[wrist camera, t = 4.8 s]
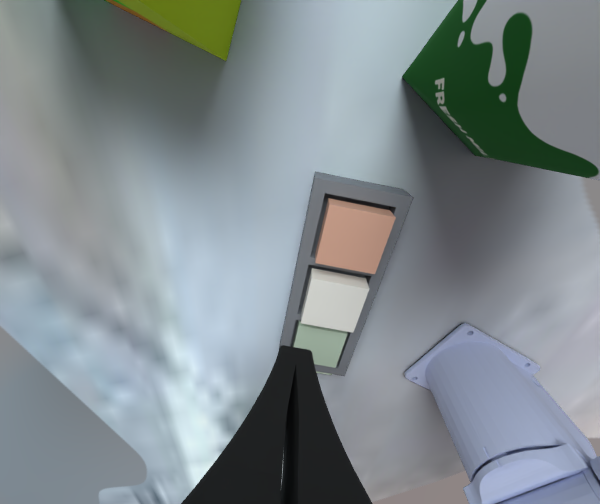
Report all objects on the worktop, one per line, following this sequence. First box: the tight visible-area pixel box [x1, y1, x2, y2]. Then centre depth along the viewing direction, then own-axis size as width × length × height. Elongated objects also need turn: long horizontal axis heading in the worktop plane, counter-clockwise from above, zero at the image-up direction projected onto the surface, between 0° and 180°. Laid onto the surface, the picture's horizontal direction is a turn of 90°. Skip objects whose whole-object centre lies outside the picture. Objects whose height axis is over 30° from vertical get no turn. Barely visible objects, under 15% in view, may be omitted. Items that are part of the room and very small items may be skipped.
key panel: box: [278, 172, 413, 376], centre depth 21 cm, size 17×6×2 cm, turn 169°
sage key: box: [292, 320, 347, 368], centre depth 22 cm, size 4×4×1 cm
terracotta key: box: [315, 198, 396, 274], centre depth 17 cm, size 4×4×1 cm
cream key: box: [301, 268, 369, 333], centre depth 19 cm, size 4×4×1 cm
